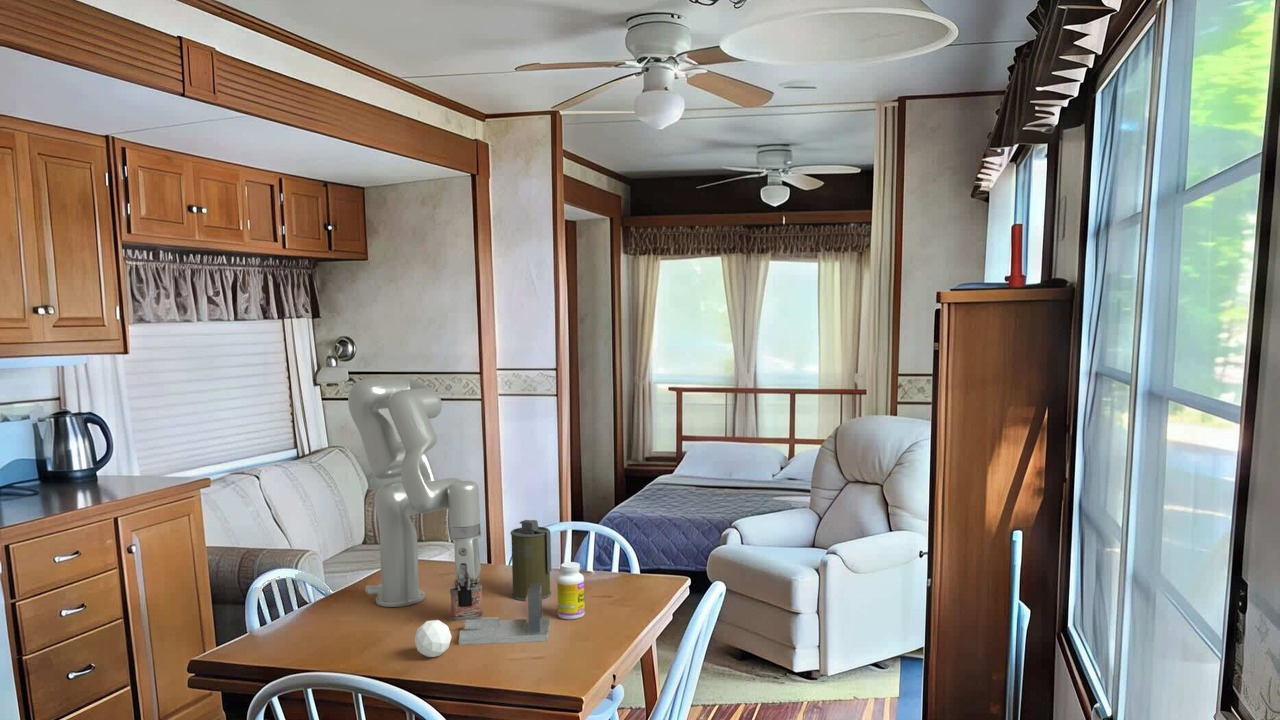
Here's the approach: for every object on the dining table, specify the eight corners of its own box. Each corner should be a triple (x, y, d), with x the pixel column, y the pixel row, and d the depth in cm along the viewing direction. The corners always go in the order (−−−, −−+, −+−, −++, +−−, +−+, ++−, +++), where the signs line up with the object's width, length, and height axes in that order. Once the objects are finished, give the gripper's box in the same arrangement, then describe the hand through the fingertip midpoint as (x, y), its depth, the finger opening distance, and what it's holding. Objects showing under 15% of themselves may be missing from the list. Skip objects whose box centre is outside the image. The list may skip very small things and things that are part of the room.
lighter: (452, 622, 203) (451, 581, 203) (449, 618, 206) (448, 578, 206) (484, 616, 207) (483, 576, 207) (480, 612, 210) (479, 573, 210)
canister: (504, 598, 221) (502, 524, 220) (524, 587, 230) (522, 515, 230) (540, 603, 216) (538, 526, 216) (559, 591, 226) (557, 518, 225)
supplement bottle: (580, 621, 202) (579, 568, 202) (554, 619, 203) (553, 567, 203) (588, 612, 209) (586, 561, 208) (562, 610, 210) (561, 560, 210)
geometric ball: (429, 664, 184) (429, 629, 189) (458, 655, 182) (458, 619, 186) (406, 658, 178) (407, 621, 183) (436, 648, 176) (436, 611, 180)
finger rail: (458, 644, 188) (457, 598, 188) (466, 627, 199) (465, 584, 199) (547, 641, 189) (546, 595, 189) (550, 624, 200) (548, 581, 200)
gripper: (475, 538, 197) (478, 610, 198) (485, 523, 215) (488, 589, 215) (443, 540, 197) (447, 612, 197) (455, 525, 214) (459, 591, 214)
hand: (468, 600), depth 206 cm, fingers open, 9 cm apart
